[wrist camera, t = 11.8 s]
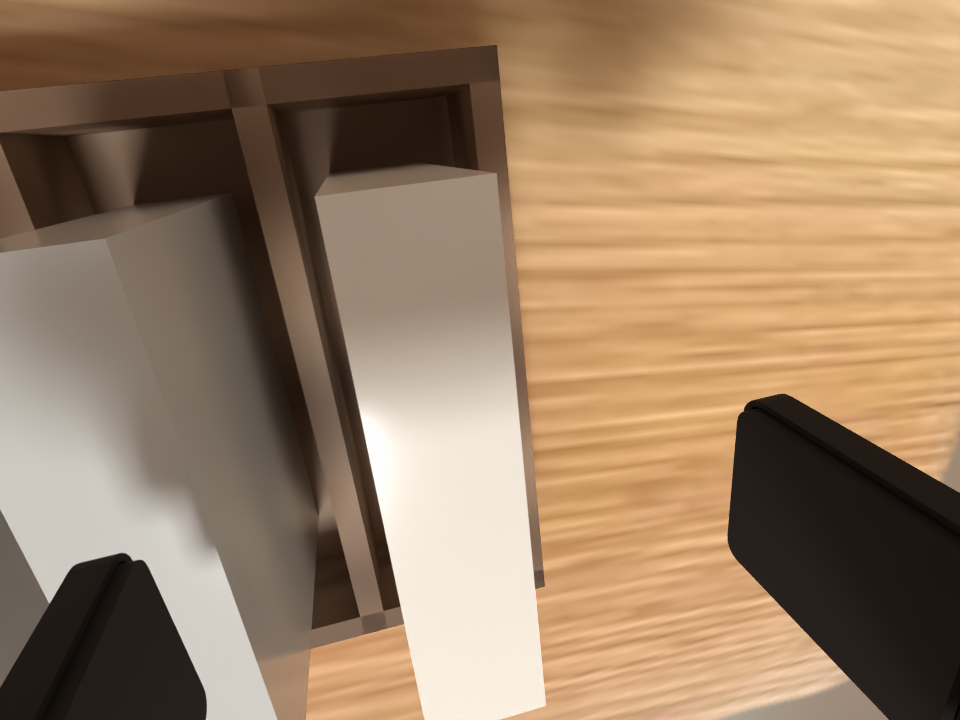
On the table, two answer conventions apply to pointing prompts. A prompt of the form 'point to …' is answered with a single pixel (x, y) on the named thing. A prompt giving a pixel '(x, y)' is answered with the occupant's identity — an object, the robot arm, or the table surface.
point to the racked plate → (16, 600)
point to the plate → (441, 424)
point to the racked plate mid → (162, 436)
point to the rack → (281, 235)
